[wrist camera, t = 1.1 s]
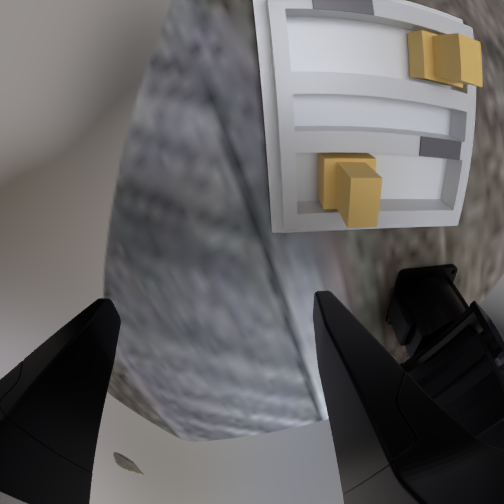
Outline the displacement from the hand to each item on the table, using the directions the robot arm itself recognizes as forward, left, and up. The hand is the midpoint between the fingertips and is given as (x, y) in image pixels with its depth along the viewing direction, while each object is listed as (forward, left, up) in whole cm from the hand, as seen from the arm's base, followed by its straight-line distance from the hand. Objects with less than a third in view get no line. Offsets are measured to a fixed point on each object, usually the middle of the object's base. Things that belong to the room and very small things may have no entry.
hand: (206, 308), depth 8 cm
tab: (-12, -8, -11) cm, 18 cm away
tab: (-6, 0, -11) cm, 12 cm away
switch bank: (-9, -4, -12) cm, 16 cm away
